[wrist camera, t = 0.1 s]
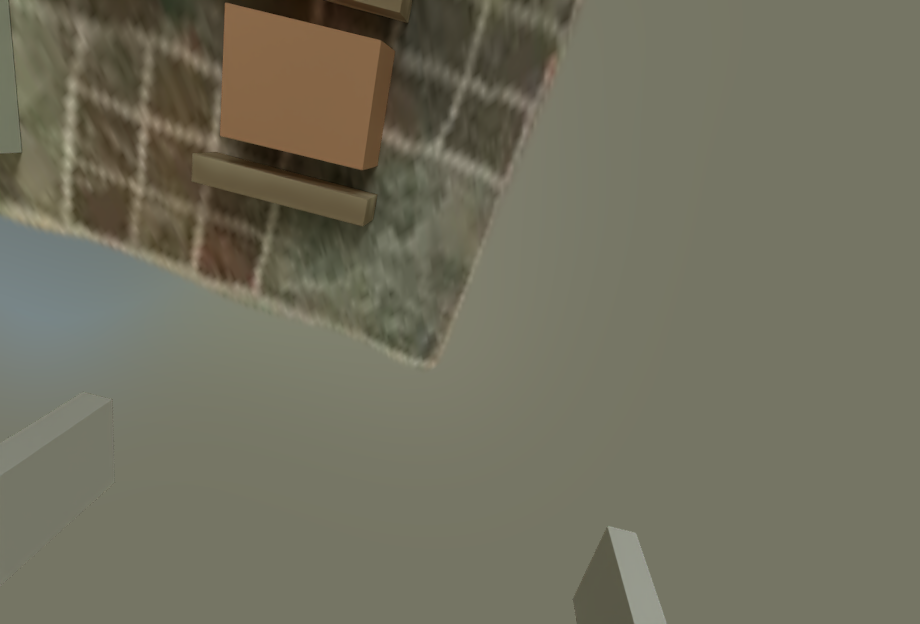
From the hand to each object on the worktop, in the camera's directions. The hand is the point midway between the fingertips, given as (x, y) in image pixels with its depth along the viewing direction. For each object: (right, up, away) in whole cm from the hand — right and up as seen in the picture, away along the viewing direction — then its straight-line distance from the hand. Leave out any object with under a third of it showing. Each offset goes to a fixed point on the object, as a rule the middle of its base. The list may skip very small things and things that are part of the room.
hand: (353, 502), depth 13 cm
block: (-7, +21, +23) cm, 32 cm away
